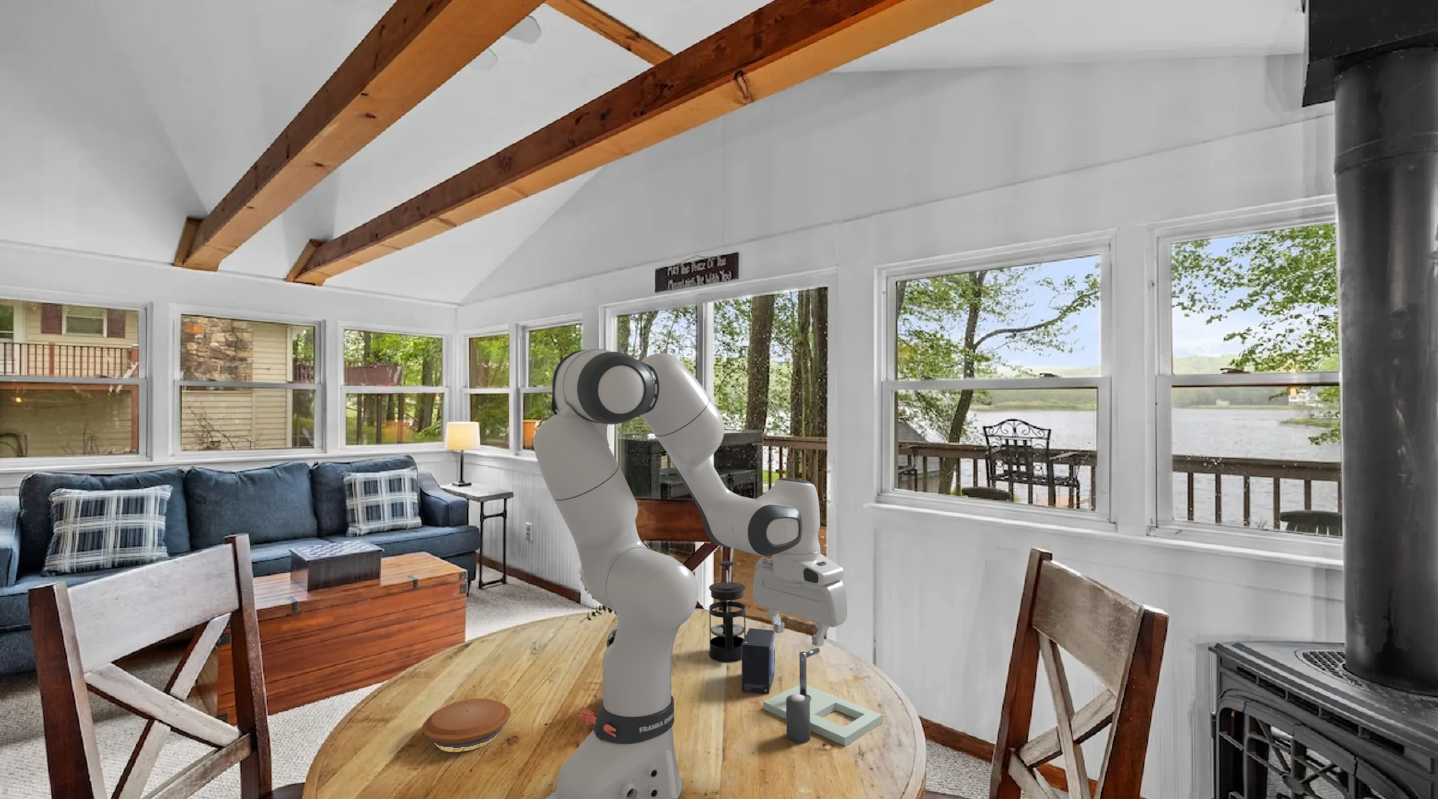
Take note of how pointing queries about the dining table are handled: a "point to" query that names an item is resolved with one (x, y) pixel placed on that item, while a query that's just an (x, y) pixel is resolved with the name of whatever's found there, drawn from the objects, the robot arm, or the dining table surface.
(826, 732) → the pale green board
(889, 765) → the dining table surface
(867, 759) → the dining table surface
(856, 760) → the dining table surface
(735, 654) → the french press
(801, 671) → the grey angled rod part
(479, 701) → the pie
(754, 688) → the small box
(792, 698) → the grey cylinder with ball
